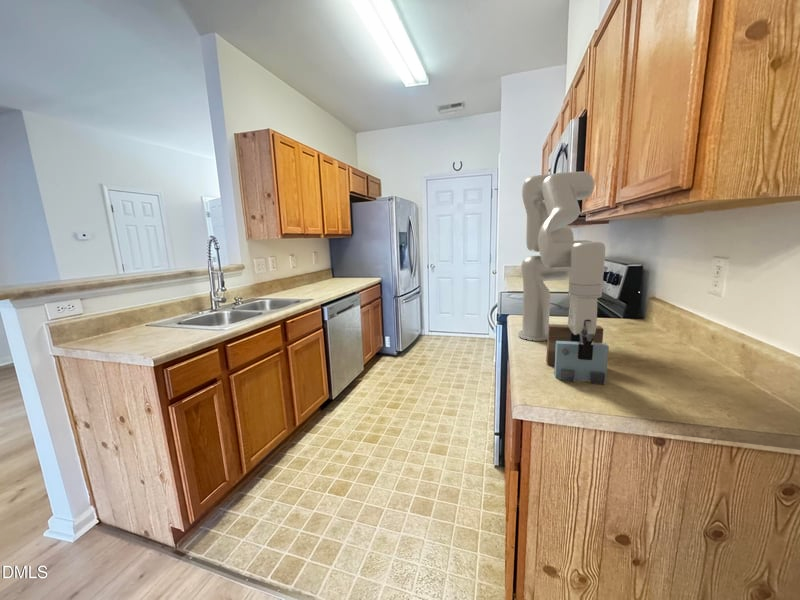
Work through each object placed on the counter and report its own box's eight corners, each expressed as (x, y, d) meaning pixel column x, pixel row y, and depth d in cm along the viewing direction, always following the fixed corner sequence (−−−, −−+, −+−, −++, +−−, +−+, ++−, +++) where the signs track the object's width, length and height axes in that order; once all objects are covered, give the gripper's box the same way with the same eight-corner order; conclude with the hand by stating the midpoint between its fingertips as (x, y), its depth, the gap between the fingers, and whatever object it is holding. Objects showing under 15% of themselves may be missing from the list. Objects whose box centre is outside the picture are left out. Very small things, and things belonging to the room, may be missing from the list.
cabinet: (546, 361, 100) (547, 323, 98) (597, 364, 96) (599, 325, 94) (547, 365, 97) (549, 326, 95) (600, 368, 93) (603, 328, 91)
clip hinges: (555, 365, 96) (555, 356, 96) (592, 368, 93) (593, 358, 93) (561, 381, 86) (561, 370, 85) (604, 384, 83) (605, 373, 82)
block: (554, 374, 90) (555, 340, 88) (603, 378, 86) (605, 343, 85) (556, 380, 87) (558, 344, 85) (607, 384, 83) (610, 347, 81)
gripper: (563, 285, 92) (559, 341, 95) (575, 295, 76) (571, 363, 79) (592, 285, 90) (588, 343, 93) (612, 296, 74) (606, 366, 77)
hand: (580, 352), depth 86 cm, fingers open, 9 cm apart
